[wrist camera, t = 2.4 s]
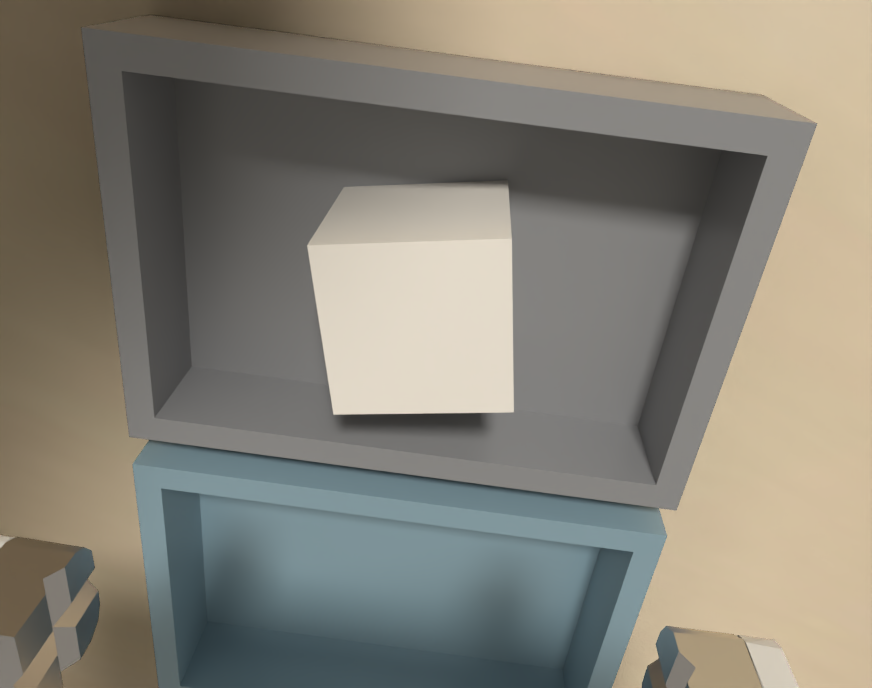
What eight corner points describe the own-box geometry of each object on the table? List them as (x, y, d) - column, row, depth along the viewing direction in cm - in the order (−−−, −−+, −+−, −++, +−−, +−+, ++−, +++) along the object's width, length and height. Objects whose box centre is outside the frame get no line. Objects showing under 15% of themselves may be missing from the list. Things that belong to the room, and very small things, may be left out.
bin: (177, 399, 24) (132, 463, 21) (644, 462, 24) (667, 535, 21) (194, 620, 30) (159, 696, 27) (577, 672, 30) (587, 755, 27)
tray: (149, 14, 19) (81, 27, 15) (763, 95, 18) (817, 123, 15) (175, 374, 24) (129, 436, 21) (652, 438, 24) (676, 510, 21)
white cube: (344, 186, 20) (307, 244, 16) (508, 180, 19) (512, 238, 15) (362, 331, 22) (333, 414, 18) (509, 328, 21) (513, 412, 18)
